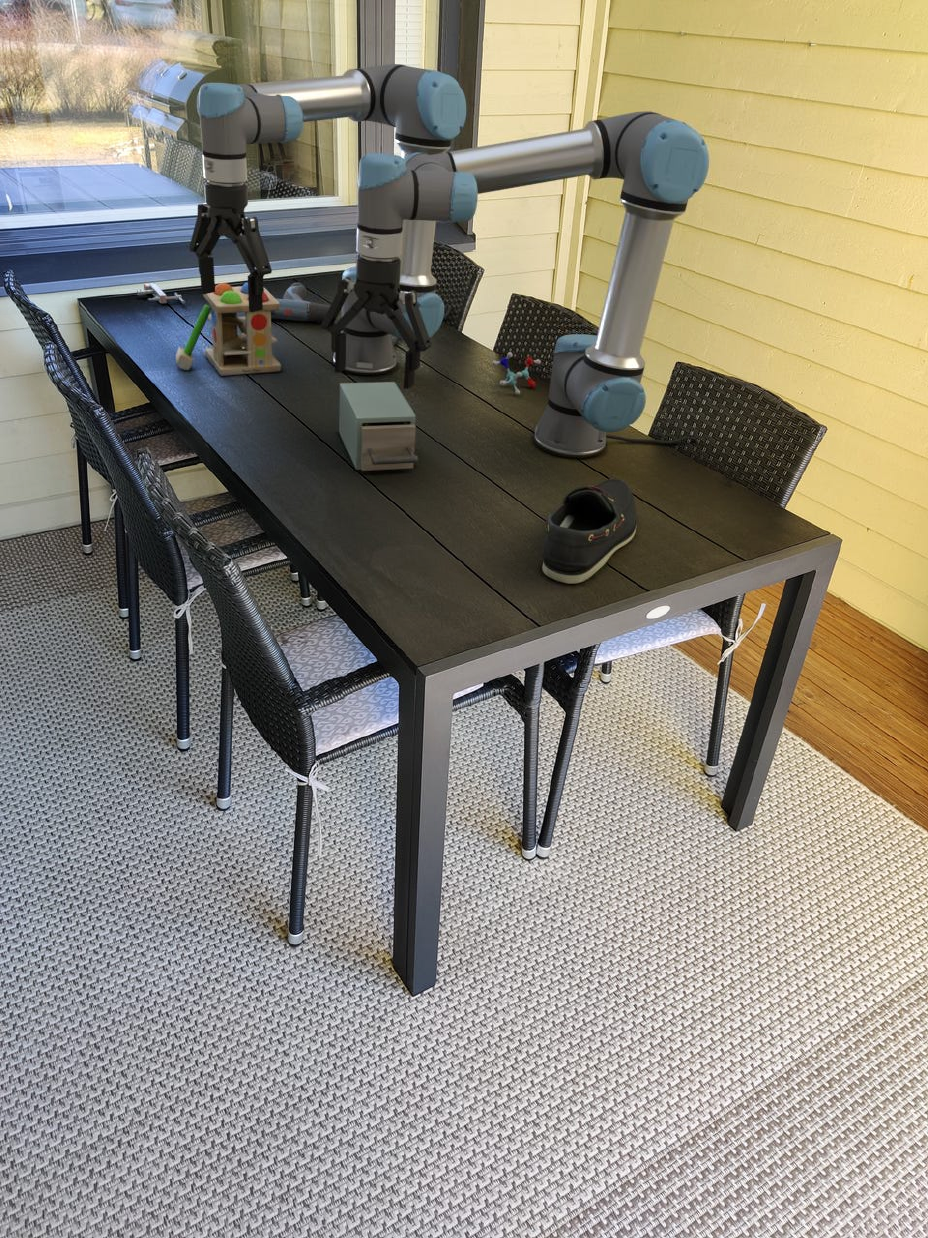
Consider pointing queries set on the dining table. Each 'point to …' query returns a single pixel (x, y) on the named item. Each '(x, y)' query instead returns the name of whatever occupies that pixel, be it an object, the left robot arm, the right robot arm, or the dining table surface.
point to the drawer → (388, 446)
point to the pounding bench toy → (235, 333)
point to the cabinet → (369, 411)
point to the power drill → (299, 306)
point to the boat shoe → (588, 530)
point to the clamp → (158, 294)
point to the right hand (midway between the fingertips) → (374, 378)
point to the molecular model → (511, 375)
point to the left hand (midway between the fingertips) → (231, 301)
